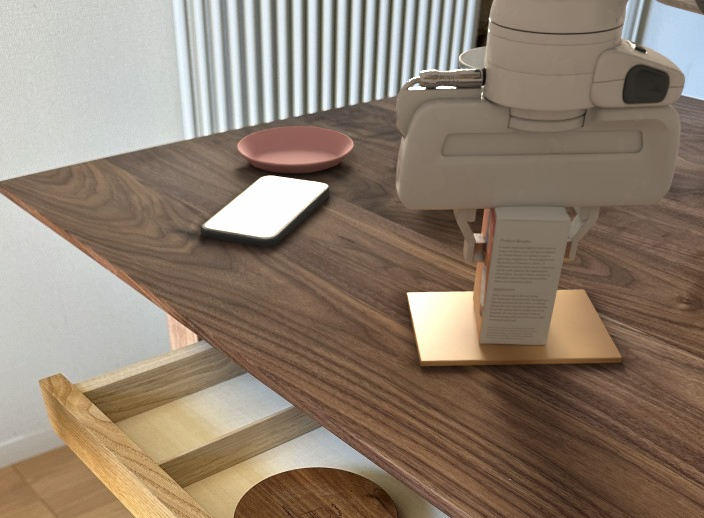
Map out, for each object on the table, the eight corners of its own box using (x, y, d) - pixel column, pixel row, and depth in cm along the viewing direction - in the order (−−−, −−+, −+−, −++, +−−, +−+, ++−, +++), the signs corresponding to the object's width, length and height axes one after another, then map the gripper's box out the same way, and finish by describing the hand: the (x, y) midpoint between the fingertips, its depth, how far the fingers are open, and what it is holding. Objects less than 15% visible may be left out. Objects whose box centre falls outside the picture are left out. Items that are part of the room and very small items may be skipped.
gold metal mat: (582, 299, 77) (584, 289, 76) (619, 368, 68) (622, 357, 67) (405, 302, 77) (406, 292, 76) (420, 372, 68) (420, 361, 67)
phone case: (273, 256, 85) (334, 197, 96) (272, 241, 84) (334, 183, 95) (196, 243, 88) (263, 187, 99) (194, 228, 87) (262, 173, 98)
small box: (471, 299, 75) (487, 177, 68) (536, 301, 74) (558, 179, 67) (477, 345, 69) (494, 216, 62) (547, 347, 69) (572, 218, 62)
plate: (217, 172, 103) (215, 154, 101) (270, 137, 112) (270, 120, 111) (324, 188, 98) (324, 171, 97) (370, 150, 108) (371, 134, 106)
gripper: (402, 83, 56) (391, 279, 66) (710, 76, 56) (656, 274, 66) (394, 59, 61) (385, 245, 70) (678, 53, 61) (632, 240, 70)
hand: (518, 259), depth 68 cm, fingers closed on small box, 6 cm apart
